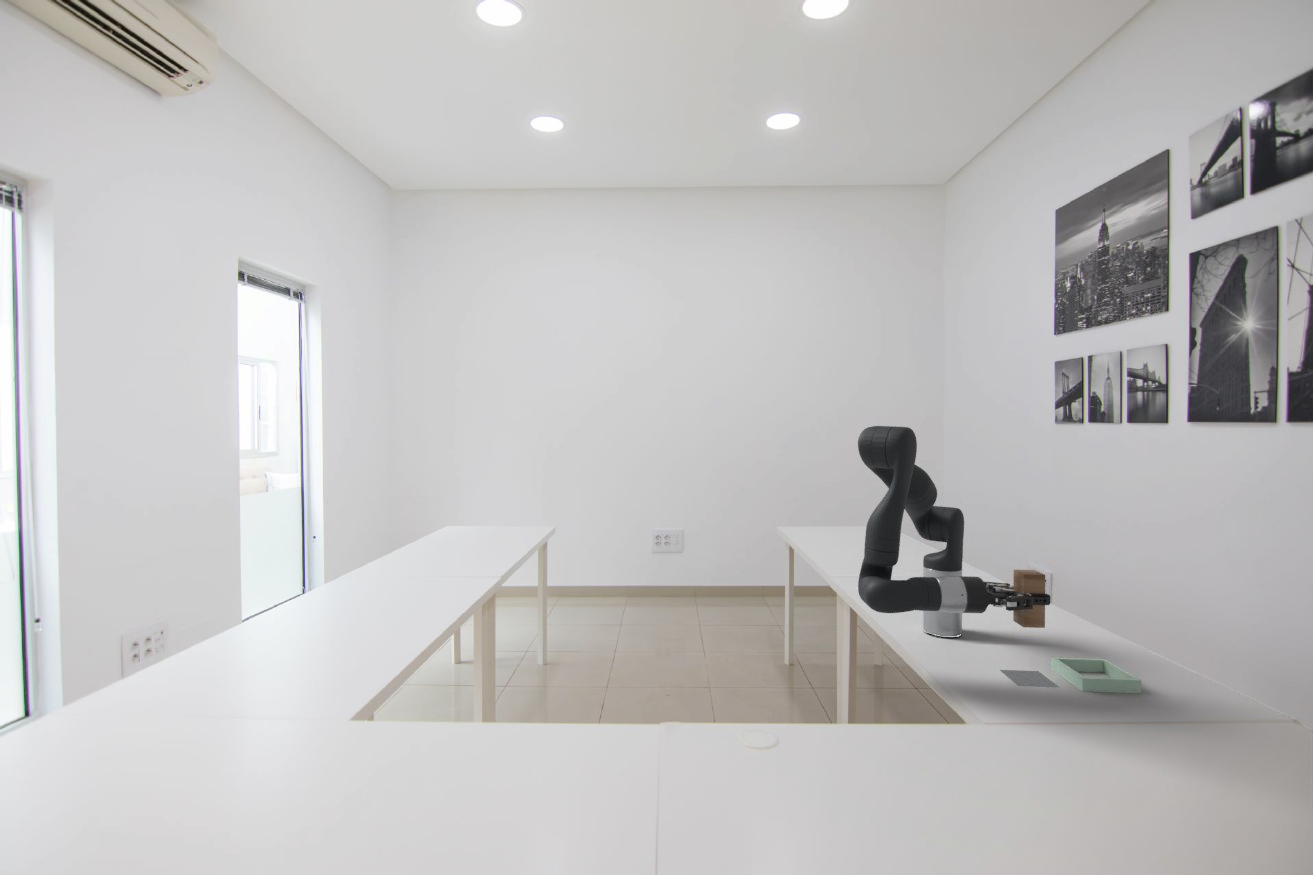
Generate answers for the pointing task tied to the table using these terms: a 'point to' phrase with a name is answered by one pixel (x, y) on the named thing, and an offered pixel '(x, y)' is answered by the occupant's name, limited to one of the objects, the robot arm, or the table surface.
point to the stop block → (1030, 584)
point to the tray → (1117, 683)
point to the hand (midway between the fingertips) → (1042, 595)
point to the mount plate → (1028, 678)
